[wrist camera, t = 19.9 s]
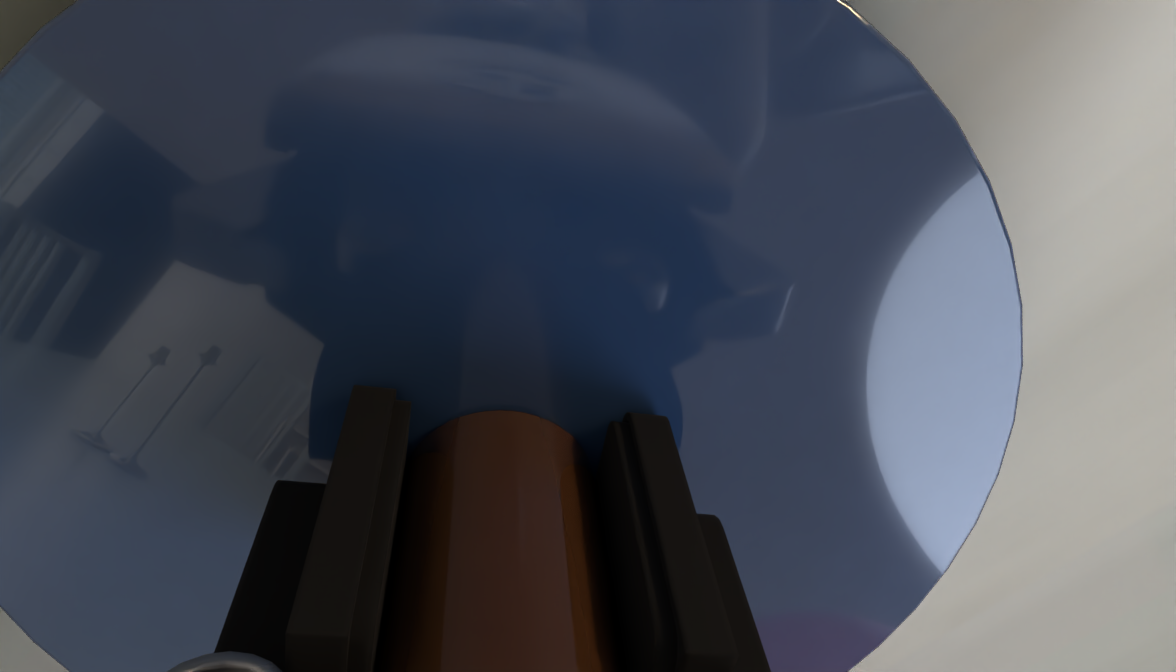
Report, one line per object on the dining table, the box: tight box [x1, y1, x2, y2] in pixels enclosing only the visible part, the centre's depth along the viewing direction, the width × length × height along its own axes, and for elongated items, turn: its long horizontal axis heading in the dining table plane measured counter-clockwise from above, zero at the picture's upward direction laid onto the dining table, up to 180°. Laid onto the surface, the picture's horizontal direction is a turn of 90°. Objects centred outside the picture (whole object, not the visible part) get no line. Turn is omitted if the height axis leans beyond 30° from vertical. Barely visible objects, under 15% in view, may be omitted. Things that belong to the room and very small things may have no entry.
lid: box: [0, 0, 1023, 672], centre depth 10 cm, size 15×15×6 cm
